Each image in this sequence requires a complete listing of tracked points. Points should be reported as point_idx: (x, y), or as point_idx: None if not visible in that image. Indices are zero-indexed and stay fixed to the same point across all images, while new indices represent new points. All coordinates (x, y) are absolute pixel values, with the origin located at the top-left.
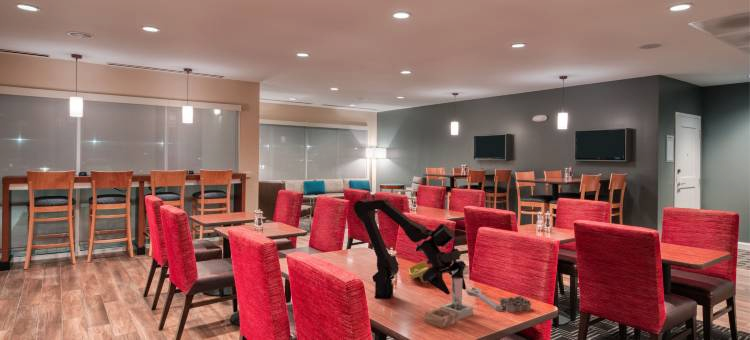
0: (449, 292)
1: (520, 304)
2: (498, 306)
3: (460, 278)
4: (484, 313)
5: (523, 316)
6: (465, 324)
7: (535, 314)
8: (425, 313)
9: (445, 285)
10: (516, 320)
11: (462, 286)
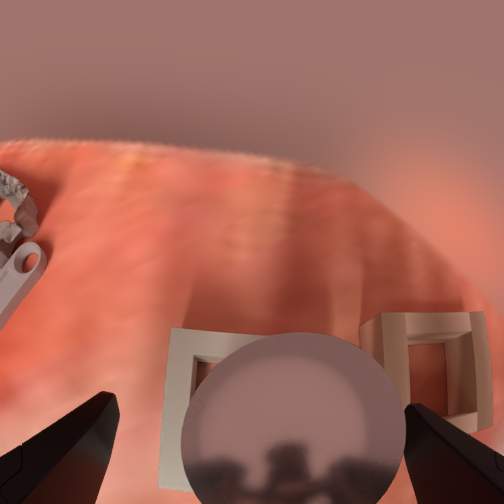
0: (418, 405)
1: (2, 178)
2: (15, 267)
3: (244, 399)
4: (117, 296)
5: (65, 163)
6: (346, 283)
7: (29, 152)
8: (491, 421)
9: (471, 447)
10: (123, 159)
11: (105, 439)
